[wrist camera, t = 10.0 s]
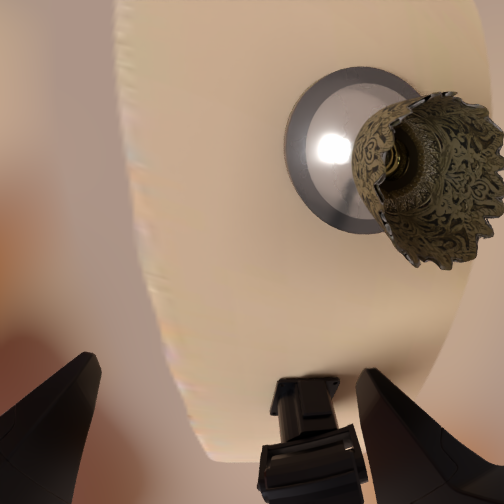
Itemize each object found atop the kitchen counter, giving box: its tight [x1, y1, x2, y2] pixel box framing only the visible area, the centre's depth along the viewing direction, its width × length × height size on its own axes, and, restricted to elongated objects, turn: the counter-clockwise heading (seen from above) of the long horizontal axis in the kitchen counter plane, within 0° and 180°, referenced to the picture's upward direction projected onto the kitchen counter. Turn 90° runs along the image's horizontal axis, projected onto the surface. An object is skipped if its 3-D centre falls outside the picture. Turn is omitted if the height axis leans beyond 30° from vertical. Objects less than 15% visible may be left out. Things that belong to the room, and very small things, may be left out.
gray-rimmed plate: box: [284, 67, 421, 234], centre depth 16 cm, size 11×11×1 cm
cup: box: [351, 92, 504, 270], centre depth 12 cm, size 8×7×8 cm
